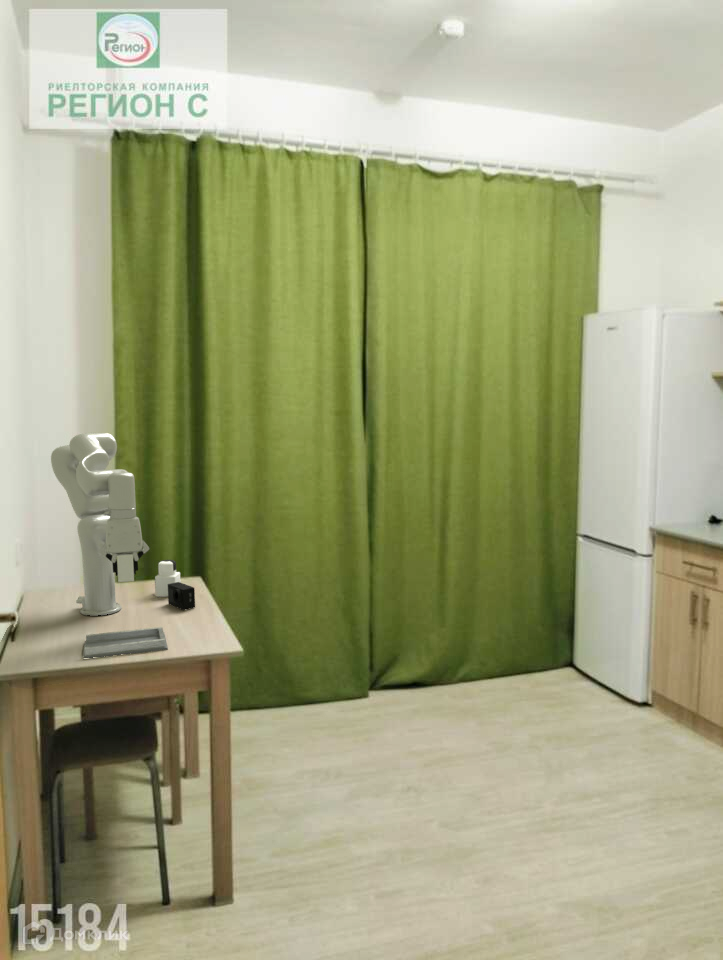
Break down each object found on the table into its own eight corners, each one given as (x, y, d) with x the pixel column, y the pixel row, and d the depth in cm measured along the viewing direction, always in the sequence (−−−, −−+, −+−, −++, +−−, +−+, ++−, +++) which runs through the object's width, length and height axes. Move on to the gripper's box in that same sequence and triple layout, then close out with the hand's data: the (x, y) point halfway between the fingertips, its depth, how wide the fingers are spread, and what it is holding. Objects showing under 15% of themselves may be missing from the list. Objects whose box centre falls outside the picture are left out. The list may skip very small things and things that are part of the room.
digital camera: (164, 604, 253) (164, 584, 253) (179, 601, 257) (178, 581, 256) (180, 611, 246) (179, 590, 245) (195, 607, 249) (194, 587, 249)
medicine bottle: (161, 591, 270) (159, 558, 269) (181, 591, 270) (179, 558, 268) (155, 596, 263) (153, 563, 262) (175, 596, 263) (174, 563, 261)
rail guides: (85, 656, 203) (84, 648, 203) (86, 641, 215) (86, 634, 215) (165, 646, 210) (165, 639, 210) (162, 633, 221) (162, 626, 221)
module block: (118, 582, 223) (116, 555, 222) (117, 576, 229) (116, 550, 228) (134, 580, 224) (133, 554, 223) (133, 575, 231) (132, 549, 230)
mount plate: (83, 659, 202) (83, 657, 202) (84, 643, 216) (84, 640, 216) (167, 649, 209) (167, 647, 209) (164, 634, 222) (164, 632, 222)
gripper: (92, 517, 218) (95, 579, 220) (153, 514, 223) (155, 574, 226) (93, 513, 225) (96, 573, 227) (151, 510, 230) (154, 568, 233)
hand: (125, 573), depth 227 cm, fingers closed on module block, 4 cm apart
